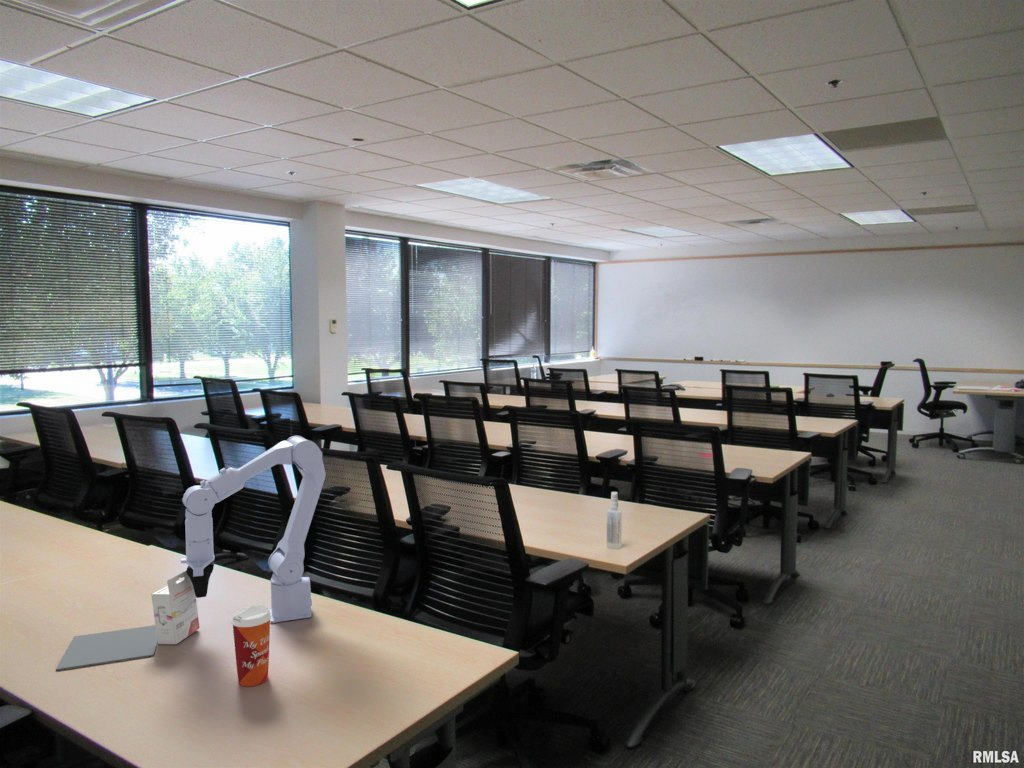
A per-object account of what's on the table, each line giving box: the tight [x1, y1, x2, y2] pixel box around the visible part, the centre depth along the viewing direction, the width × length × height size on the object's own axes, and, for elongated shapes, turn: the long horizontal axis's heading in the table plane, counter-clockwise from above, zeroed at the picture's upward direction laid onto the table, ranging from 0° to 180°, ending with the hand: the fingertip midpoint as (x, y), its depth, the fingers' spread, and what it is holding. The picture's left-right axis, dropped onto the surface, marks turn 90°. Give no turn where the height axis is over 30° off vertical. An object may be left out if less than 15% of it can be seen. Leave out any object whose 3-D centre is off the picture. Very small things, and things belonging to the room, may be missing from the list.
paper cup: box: [230, 605, 272, 688], centre depth 136 cm, size 8×8×14 cm
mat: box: [55, 624, 158, 672], centre depth 151 cm, size 18×16×1 cm
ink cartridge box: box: [150, 570, 200, 645], centre depth 155 cm, size 9×5×15 cm, turn 169°
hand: (201, 596), depth 156 cm, fingers closed
